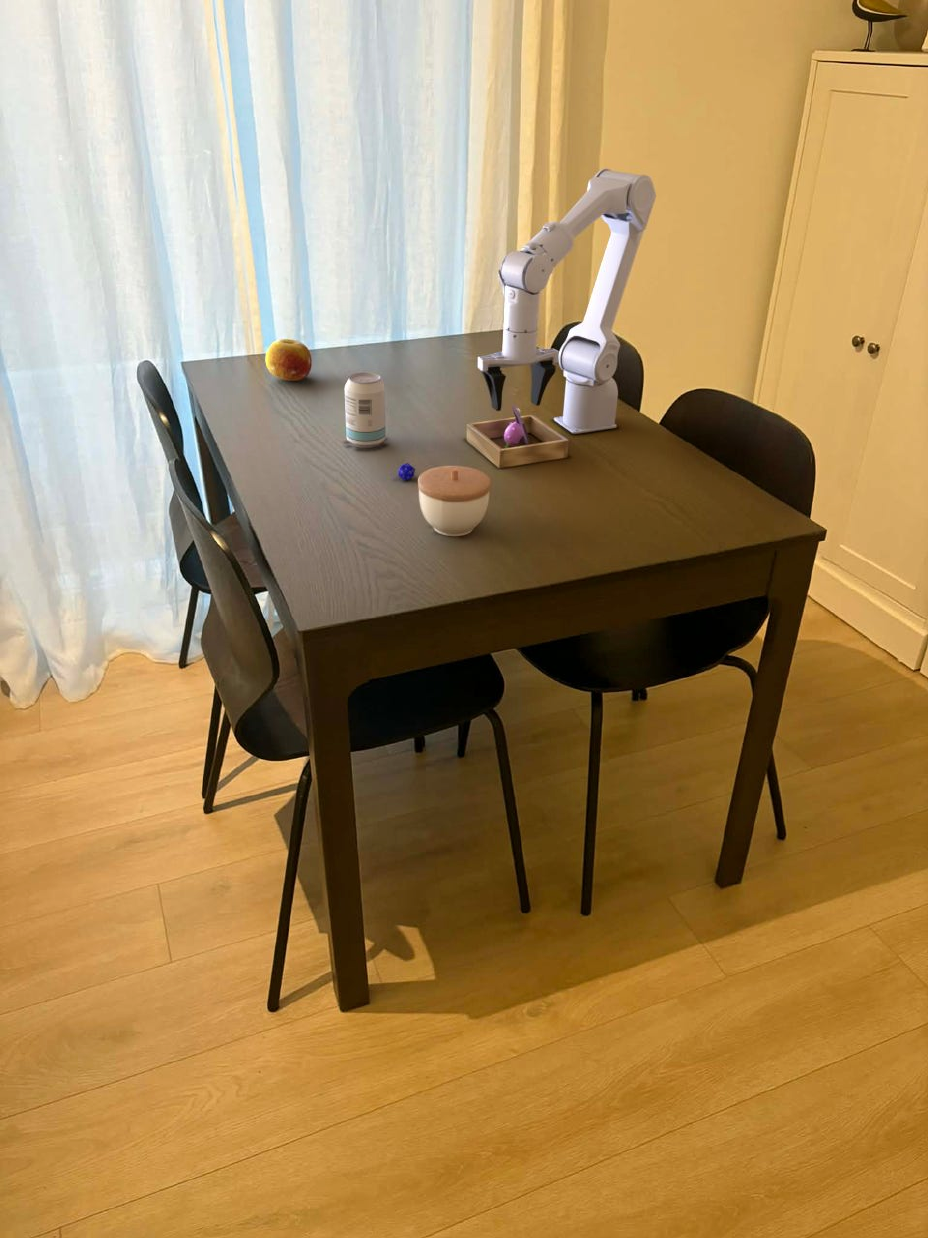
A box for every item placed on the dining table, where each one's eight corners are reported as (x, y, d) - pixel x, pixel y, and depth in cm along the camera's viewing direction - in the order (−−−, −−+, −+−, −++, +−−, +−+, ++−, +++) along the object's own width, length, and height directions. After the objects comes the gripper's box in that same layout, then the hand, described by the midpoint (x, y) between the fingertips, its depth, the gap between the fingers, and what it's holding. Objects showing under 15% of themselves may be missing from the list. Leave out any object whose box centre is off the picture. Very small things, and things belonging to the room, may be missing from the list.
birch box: (531, 430, 182) (532, 414, 181) (567, 457, 172) (568, 440, 170) (466, 440, 177) (466, 423, 176) (499, 468, 167) (500, 450, 166)
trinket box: (497, 518, 151) (500, 461, 146) (475, 548, 142) (477, 489, 137) (432, 506, 154) (433, 450, 149) (407, 536, 145) (406, 477, 140)
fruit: (322, 378, 204) (320, 340, 200) (293, 389, 198) (290, 350, 193) (287, 369, 208) (284, 331, 204) (257, 380, 202) (254, 341, 198)
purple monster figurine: (528, 421, 168) (517, 403, 175) (499, 432, 168) (490, 413, 175) (538, 455, 171) (527, 436, 179) (510, 466, 171) (500, 446, 179)
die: (394, 480, 162) (396, 462, 163) (408, 483, 164) (410, 465, 164) (402, 477, 160) (404, 459, 160) (416, 481, 161) (418, 463, 162)
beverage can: (392, 439, 177) (391, 374, 170) (373, 453, 171) (372, 386, 165) (359, 433, 179) (357, 368, 173) (339, 445, 174) (336, 379, 167)
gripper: (547, 317, 169) (541, 394, 176) (471, 325, 164) (468, 403, 171) (567, 328, 164) (560, 407, 171) (489, 337, 158) (486, 417, 166)
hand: (516, 406), depth 171 cm, fingers open, 7 cm apart
